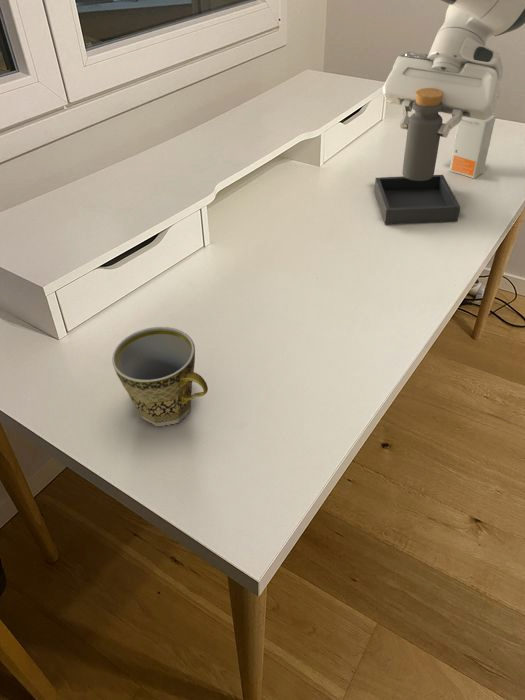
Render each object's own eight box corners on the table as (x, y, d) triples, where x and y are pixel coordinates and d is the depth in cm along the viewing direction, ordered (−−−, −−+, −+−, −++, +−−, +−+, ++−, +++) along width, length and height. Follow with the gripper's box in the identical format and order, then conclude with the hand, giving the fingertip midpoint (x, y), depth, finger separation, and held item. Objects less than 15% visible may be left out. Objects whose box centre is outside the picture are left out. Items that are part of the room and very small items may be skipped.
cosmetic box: (448, 171, 125) (458, 115, 118) (458, 165, 128) (468, 109, 120) (474, 179, 122) (486, 122, 114) (484, 172, 125) (496, 115, 117)
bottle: (401, 167, 113) (411, 86, 103) (432, 168, 112) (445, 86, 102) (402, 181, 109) (413, 98, 99) (435, 181, 108) (448, 98, 98)
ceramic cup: (112, 417, 77) (94, 361, 70) (163, 372, 83) (151, 317, 76) (188, 460, 71) (176, 403, 64) (236, 408, 77) (230, 352, 70)
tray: (440, 188, 120) (443, 174, 118) (457, 221, 110) (460, 206, 108) (374, 191, 120) (375, 177, 118) (384, 225, 110) (386, 210, 108)
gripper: (395, 40, 106) (366, 112, 107) (509, 55, 97) (475, 134, 97) (403, 60, 112) (375, 128, 112) (511, 76, 102) (479, 150, 103)
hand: (422, 131), depth 105 cm, fingers closed on bottle, 6 cm apart
